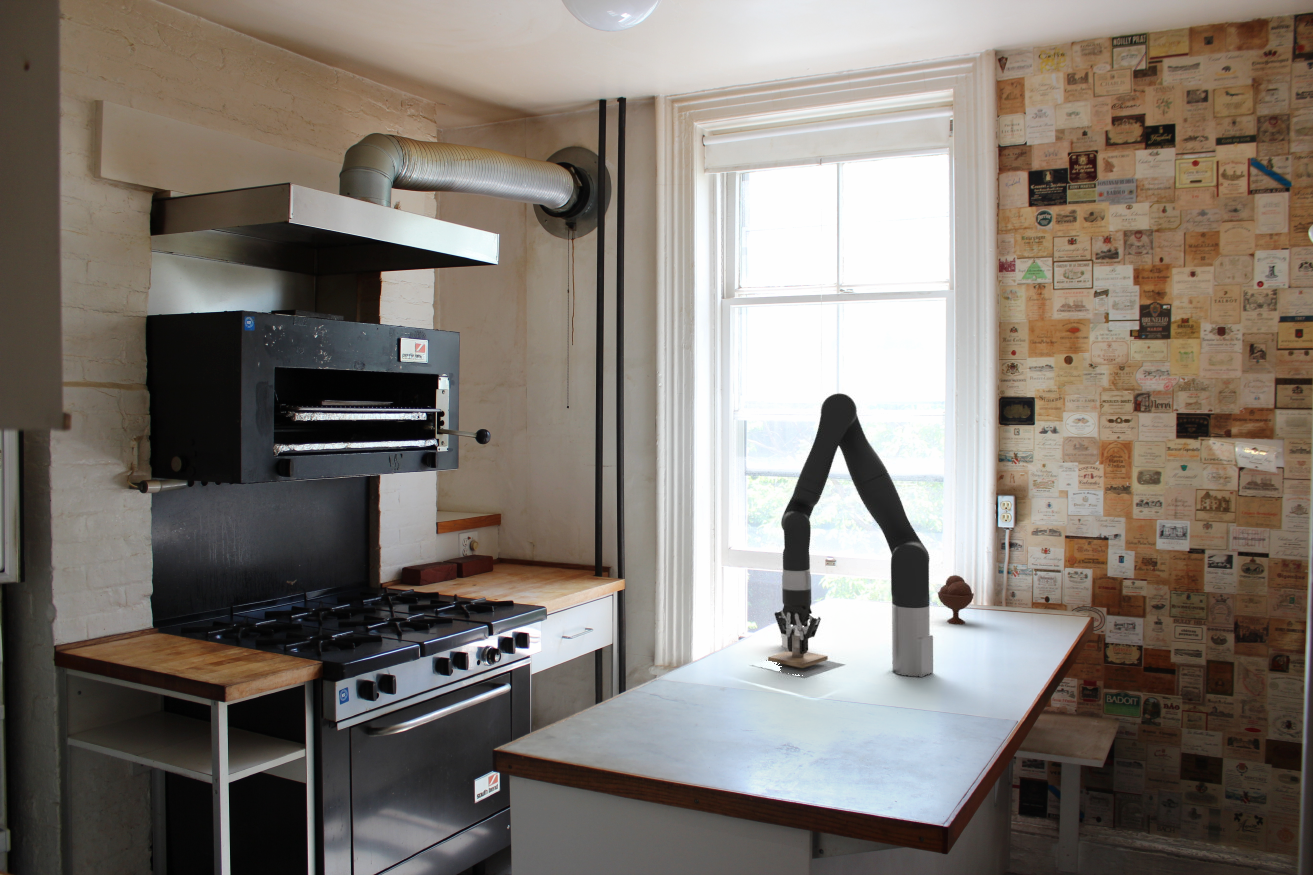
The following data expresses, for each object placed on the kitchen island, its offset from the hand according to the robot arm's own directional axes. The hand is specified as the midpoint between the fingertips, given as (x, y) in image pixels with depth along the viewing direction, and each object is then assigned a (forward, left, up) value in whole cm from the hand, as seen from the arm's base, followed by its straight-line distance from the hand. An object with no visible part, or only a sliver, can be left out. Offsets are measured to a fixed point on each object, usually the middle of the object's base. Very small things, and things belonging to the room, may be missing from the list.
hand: (797, 651), depth 231 cm
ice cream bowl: (-4, -79, -4) cm, 79 cm away
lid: (0, 0, -2) cm, 2 cm away
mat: (0, 0, -4) cm, 4 cm away
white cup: (+13, -16, -4) cm, 21 cm away
